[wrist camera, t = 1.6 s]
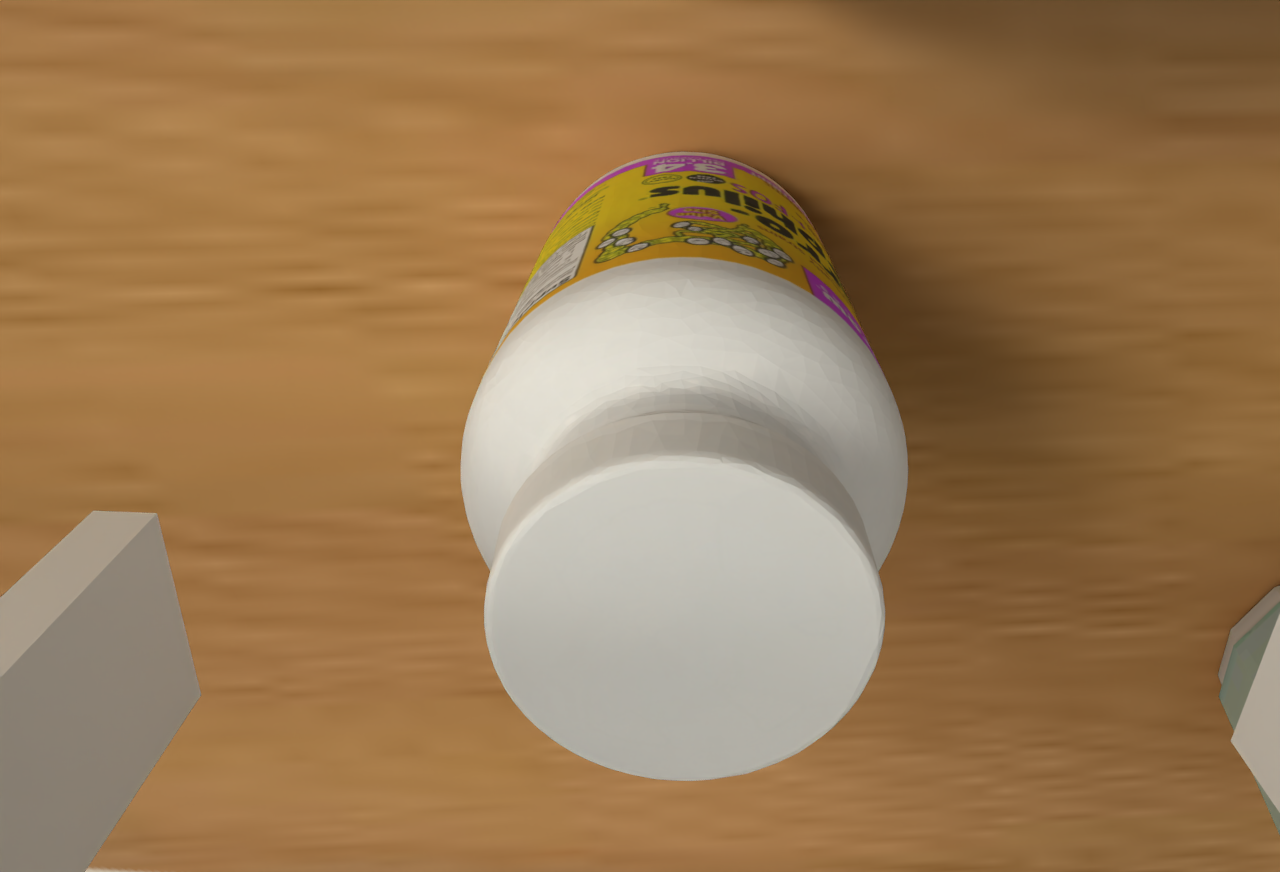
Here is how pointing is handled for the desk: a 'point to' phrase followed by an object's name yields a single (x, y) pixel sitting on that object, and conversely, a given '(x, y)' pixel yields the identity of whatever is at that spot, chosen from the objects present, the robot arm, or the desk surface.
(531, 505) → the supplement bottle
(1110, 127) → the desk surface
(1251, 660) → the disposable coffee cup
